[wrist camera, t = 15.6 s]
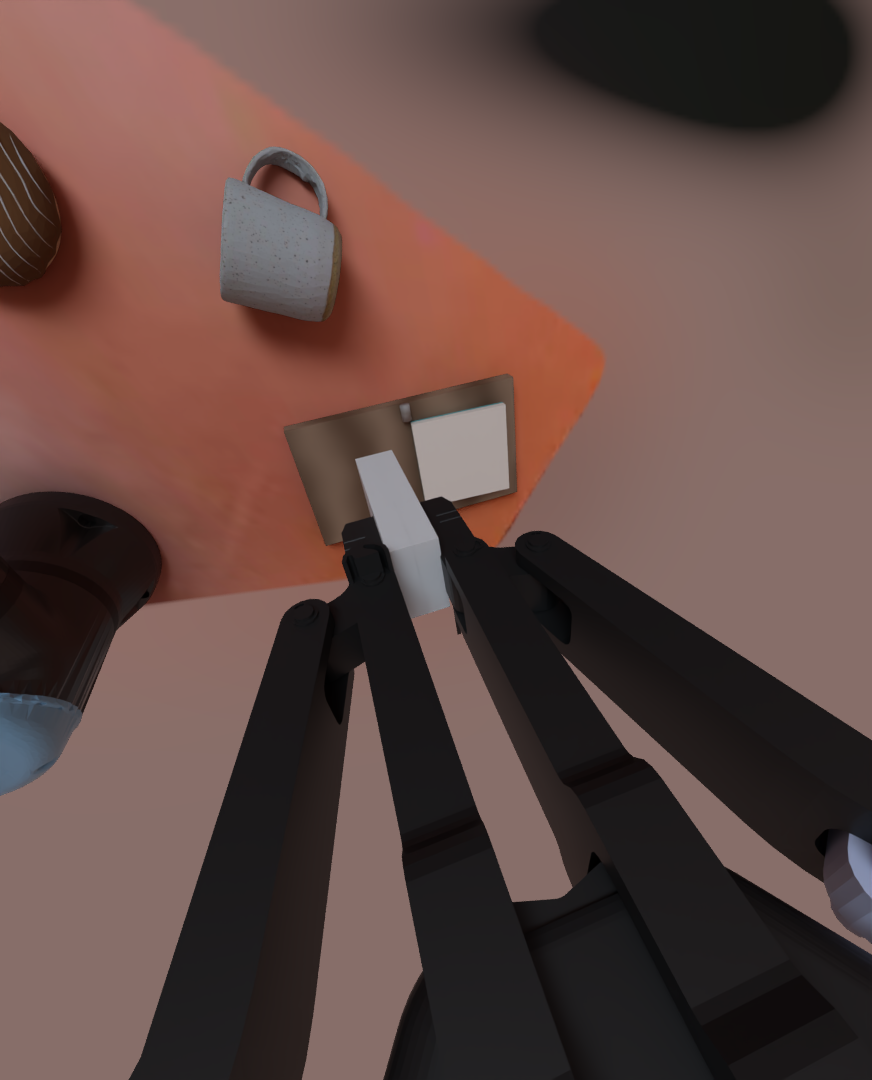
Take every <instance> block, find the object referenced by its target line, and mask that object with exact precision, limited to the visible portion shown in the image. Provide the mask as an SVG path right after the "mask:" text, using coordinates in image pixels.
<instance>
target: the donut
mask: <svg viewBox="0 0 872 1080" xmlns="http://www.w3.org/2000/svg"><path fill="white" fill-rule="evenodd" d="M61 233H62V229H61V220H60V214H59V209H58V205H57V202H56V199H55V196H54V193H53V191H52V189H51V187H50V185H49V183H48V180H47V178H46V177H45V175H44V173H43V172H42V170H41V168H40V167H39V165H38V164H37V162H36V161H35V159H34V157H33V156H32V154H31V152H30V151H29V150H28V149H27V148H26V147H25V146H24V144H23V143H22V142H21V141H20V140H19V139H18V138H17V136H16V135H15V134H14V133H13V132H12V131H11V130H10V129H8V128H7V127H6V126H4V125H3V124H2V123H1V122H0V286H25V285H26V284H28V283H29V282H31V281H32V280H35V279H38V278H41V277H42V276H43V274H44V273H45V271H46V268H47V267H48V266H49V265H50V264H51V263H52V261H53V259H54V258H55V256H56V254H57V252H58V248H59V245H60V238H61Z"/></svg>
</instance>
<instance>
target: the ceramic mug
mask: <svg viewBox="0 0 872 1080" xmlns="http://www.w3.org/2000/svg"><path fill="white" fill-rule="evenodd" d="M268 164H272V165H278V166H281V167H283V168H285V169H286V170H288V171H290V172H292V173H294V174H296V175H297V176H299V177H300V178H301V179H302V180H303V181H305V182H309V183H310V184H311V186H312V187H313V189H314V191H315V193H316V195H317V197H318V201H319V207H320V215H318V214H315V213H313V212H311V211H308V210H306V209H303V208H301V207H298V206H295V205H293V204H290V203H288V202H286V201H284V200H281V199H279V198H277V197H275V196H273V195H270V194H268V193H266V192H264V191H261V190H259V189H257V188H255V187H252V186H250V184H251V181H252V179H253V177H254V176H255V174H256V173H257V171H258V170H259V169H260V168H262V167H263V166H265V165H268ZM327 213H328V204H327V195H326V190H325V187H324V184H323V182H322V180H321V178H320V176H319V175H318V173H317V172H316V171H315V169H314V168H313V166H311V165H310V164H309V163H308V162H307V161H306V160H305V159H303V158H302V157H301V156H299V155H298V154H296V153H294V152H292V151H290V150H287V149H284V148H281V147H269V148H266V149H264V150H262V151H260V152H259V153H257V154H256V155H255V156H254V157H253V158H252V160H251V161H250V163H249V165H248V166H247V168H246V171H245V174H244V177H243V181H242V182H241V181H239V180H237V179H234V178H228V179H227V180H226V184H225V192H224V201H223V215H222V236H221V263H220V286H221V289H220V292H221V297H222V299H223V300H224V301H227V302H231V303H235V304H240V305H244V306H248V307H251V308H255V309H259V310H264V311H268V312H272V313H277V314H281V315H285V316H289V317H293V318H296V319H301V320H306V321H316V322H320V321H324V320H326V319H327V318H328V317H329V316H330V315H331V313H332V310H333V307H334V303H335V299H336V295H337V289H338V284H339V278H340V269H341V259H342V237H341V234H340V232H339V230H338V229H337V227H336V226H335V225H334V224H332V223H331V222H330V221H328V220H327Z"/></svg>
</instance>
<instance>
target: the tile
mask: <svg viewBox="0 0 872 1080" xmlns="http://www.w3.org/2000/svg"><path fill="white" fill-rule="evenodd" d="M410 424H411V430H412V435H413V441H414V446H415V452H416V457H417V463H418V468H419V473H420V479H421V484H422V490H423V495H424V501H426V500H430V499H433V498H437V497H441V496H442V497H444V498H445V499H447V500H449V501H451V502H452V501H456V500H461V499H465V498H469V497H474V496H478V495H482V494H487V493H491V492H495V491H499V490H504V489H508V488H509V470H508V448H507V426H506V405H505V404H504V403H503V402H499V403H494V404H490V405H485V406H480V407H476V408H471V409H467V410H462V411H457V412H453V413H448V414H443V415H439V416H434V417H429V418H425V419H420V420H415V421H411V422H410Z"/></svg>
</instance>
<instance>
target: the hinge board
mask: <svg viewBox="0 0 872 1080" xmlns="http://www.w3.org/2000/svg"><path fill="white" fill-rule="evenodd" d="M499 402H503V403H504V404H505V405H506V426H507V448H508V470H509V488H508V489H504V490H499V491H495V492H491V493H487V494H482V495H478V496H474V497H469V498H465V499H461V500H456V501H452V504H453V505H454V507H455V508H456V509H458V508H462V507H465V506H469V505H472V504H476V503H479V502H483V501H486V500H490V499H493V498H497V497H500V496H504V495H507V494H511V493H515V492H517V476H516V446H515V417H514V387H513V377H512V376H511V375H509V374H504V375H499V376H495V377H491V378H487V379H483V380H478V381H474V382H470V383H466V384H462V385H457V386H453V387H449V388H445V389H441V390H436V391H432V392H428V393H424V394H420V395H415V396H411V397H407V398H403V399H399V400H394V401H390V402H386V403H382V404H378V405H374V406H369V407H365V408H361V409H357V410H353V411H348V412H344V413H340V414H336V415H332V416H327V417H323V418H319V419H315V420H311V421H306V422H302V423H298V424H294V425H290V426H285V427H284V434H285V436H286V439H287V442H288V444H289V447H290V450H291V452H292V455H293V458H294V461H295V463H296V466H297V469H298V471H299V474H300V477H301V480H302V482H303V485H304V488H305V490H306V493H307V496H308V498H309V501H310V504H311V507H312V509H313V512H314V515H315V517H316V520H317V523H318V526H319V528H320V531H321V534H322V536H323V539H324V542H325V544H326V546H327V545H331V544H334V543H338V542H341V541H343V539H342V534H341V533H342V531H343V529H344V526H345V524H347V523H350V522H354V521H358V520H361V519H365V518H368V517H371V515H370V511H369V508H368V504H367V500H366V497H365V493H364V490H363V486H362V482H361V479H360V475H359V472H358V468H357V464H356V461H355V459H358V458H362V457H365V456H369V455H373V454H377V453H381V452H385V451H389V450H392V452H393V453H394V455H395V457H396V459H397V461H398V463H399V465H400V467H401V469H402V470H403V472H404V474H405V476H406V478H407V480H408V482H409V484H410V485H411V487H412V489H413V491H414V493H415V495H416V497H417V499H418V501H419V502H422V501H424V495H423V490H422V484H421V479H420V473H419V468H418V463H417V457H416V452H415V446H414V441H413V435H412V430H411V424H410V422H411V421H415V420H420V419H425V418H429V417H434V416H439V415H443V414H448V413H453V412H457V411H462V410H467V409H471V408H476V407H480V406H485V405H490V404H494V403H499Z"/></svg>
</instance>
